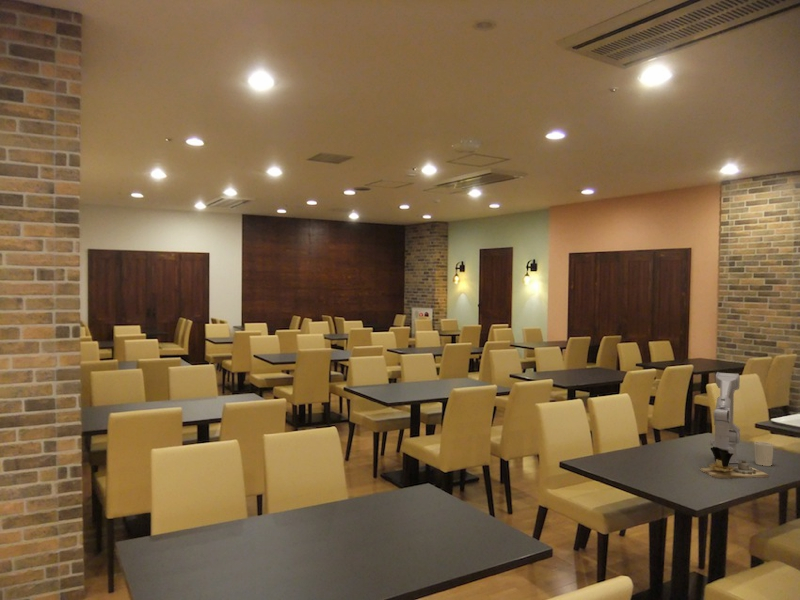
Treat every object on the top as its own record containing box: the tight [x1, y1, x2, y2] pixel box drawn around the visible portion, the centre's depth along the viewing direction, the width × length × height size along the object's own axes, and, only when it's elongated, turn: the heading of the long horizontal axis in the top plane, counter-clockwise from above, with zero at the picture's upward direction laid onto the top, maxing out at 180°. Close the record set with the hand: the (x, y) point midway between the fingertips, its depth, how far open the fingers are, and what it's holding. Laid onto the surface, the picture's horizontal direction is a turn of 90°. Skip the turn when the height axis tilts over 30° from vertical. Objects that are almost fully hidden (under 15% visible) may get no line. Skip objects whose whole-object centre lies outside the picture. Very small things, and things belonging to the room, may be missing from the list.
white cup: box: [753, 441, 774, 467], centre depth 280 cm, size 8×8×10 cm
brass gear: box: [709, 458, 735, 471], centre depth 264 cm, size 10×10×4 cm
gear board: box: [699, 459, 770, 479], centre depth 265 cm, size 12×25×6 cm, turn 95°
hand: (721, 465), depth 264 cm, fingers closed on brass gear, 4 cm apart
